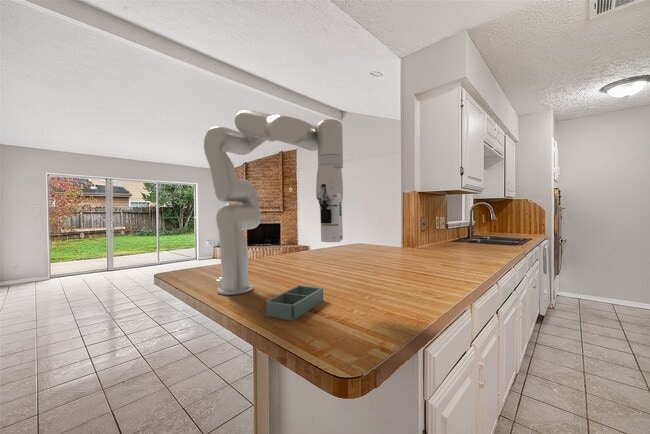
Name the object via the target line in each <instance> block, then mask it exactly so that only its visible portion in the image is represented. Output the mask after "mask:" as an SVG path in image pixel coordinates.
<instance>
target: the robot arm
mask: <svg viewBox="0 0 650 434" xmlns="http://www.w3.org/2000/svg"><path fill="white" fill-rule="evenodd" d="M234 125H235V127H236V129H237V130H238V131H237V130H235V129H232V128H228V127H227V126H226V127H225V126H212V127H210V128H209V129H208V130H207V131H206V134H205V136H204V139H203V151H204V155H205V158H206V160H207V163H208V165H209V170H210V174H211V179H212V180H211V181H212V184H213V188H214V193H215V196H216V198H217V200H218V201H219V202H222V203H231V205H225V206H223V207H221V208H219V209H218V211H217V213H216V216H215V219H216V220H215V221H216V226H217V229H218V235H219V246H220V249H219V250H220V272H221V274H220V275H221V276H220V277H218V278H217V279H216V280H215V283H216V284H219V287H218V288H217V294H219V295H222V296H224V295H225V296H232V295H233V296H235V295H242V294H246V293H248V292H251V291H252V290H253V289H254V285H253V284H251V283H250V282H249V260H248V259H249V258H248V257H249V256H248V255H249V253H248V241H247V237H246V236H245V233H244V231H246V230H253V229H256V228H258V226H259V225H260V223H261V220H262V215H261V209H260V205H259V201H258V200H259V199H258V196H257V191H256V187H255V186H254V184H253V183H252V182H251V181H250V180H248V179H246V178H240V177H239V178H238V176H237V173H236V170H235V165H234V163H233V161H232V160H231V158H230V156H229V155H228V154H227V153H231V154H234V155H241V156H245V155H249V154H250V153H251V152H253V151H254V150H256V149H257V148H259V147H260V146H262V144H264V143H265V142H266V141H268V142H276V141H278V142H280V143H286V144H289V145H292V146H296V147H299V148H301V149H304V150H307V151H311V152H315V151H317V171H316V172H317V173H316V184H315V185H316V186H315V198H316V200H317V201H318V204H319V211H320V210H321V219H320V224H321V223H326V224H330V223H331V210H329V209H330V205H331V200H333V199H334V195H335V193H340V194H341V202H342V203H343V199H344V185H343V183H344V182H343V172H342V170H343V168H344V159H343V158H344V150H343V149H344V147H343V146H344V145H343V143H344V142H343V140H344V139H343V124H342V122H341V121H339V120H337V119H335V118H334V119H333V118H331V119H330V118H329V119H322V120H321V121H319V122H318V124H317V126H316V125H313V124H312V123H309V122H307V121H305V120H303V119H300V118H297V117H296V118H295V117H291V116H287V115H282V114H269V113H264V112H260V111H256V110H250V109H244V110H243V109H242V110H240V111H239V112H238V113H236V115H235V117H234ZM324 197H326V198H329V199H324ZM326 202H327V203H326ZM232 203H234V204H232ZM236 203H237V204H236Z"/></svg>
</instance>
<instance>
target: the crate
mask: <svg viewBox="0 0 650 434" xmlns="http://www.w3.org/2000/svg"><path fill="white" fill-rule="evenodd" d="M323 301H324V288H323V287H318V286H317V287H316V286H315V287H314V286H307V285H297V286H295V287H292V288H290V289H288V290H286V291H284V292H282V293H280V294H278V295H276V296H273V297H272V298H270V299H267V300H265V302H264V310H265V315H264V316H265V317H270V318H275V319H281V320H287V321H292V322H294V321H296V319H299V318H300V317H301V316H304V314H306V313H307V312H309V311H310V310H312V309H313V308H314V307H316V306H318V305H319V304H320V303H322V302H323Z"/></svg>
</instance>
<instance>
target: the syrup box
mask: <svg viewBox="0 0 650 434" xmlns="http://www.w3.org/2000/svg"><path fill="white" fill-rule="evenodd" d="M324 199H329V198H326V197H324ZM326 203H327V202H326ZM342 204H343V201H342V202H341V194H340V193H335V195H334V199H333V200H331V205H330V209H329V210H331V223H330V224H326V223H321V222H320V242H322V243H341V241H343V233H344V232H343V209H342V208H343V207H342V206H343V205H342ZM319 214H320V216H319V217H320V220H321V210H320V209H319Z"/></svg>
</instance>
